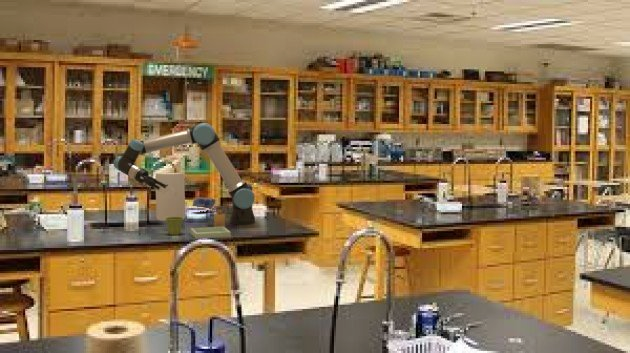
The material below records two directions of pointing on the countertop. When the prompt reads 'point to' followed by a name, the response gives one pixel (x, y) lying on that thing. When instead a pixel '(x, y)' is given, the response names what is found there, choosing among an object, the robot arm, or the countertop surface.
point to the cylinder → (170, 196)
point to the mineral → (204, 202)
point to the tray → (210, 232)
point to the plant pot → (174, 225)
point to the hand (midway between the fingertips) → (170, 192)
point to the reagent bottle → (219, 218)
